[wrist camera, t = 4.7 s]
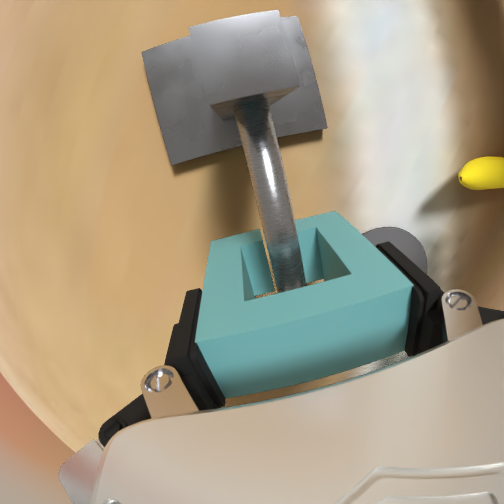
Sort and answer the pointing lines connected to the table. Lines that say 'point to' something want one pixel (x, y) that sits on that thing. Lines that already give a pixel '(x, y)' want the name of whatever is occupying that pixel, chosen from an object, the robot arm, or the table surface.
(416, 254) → the coaster
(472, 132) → the table surface
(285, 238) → the stand
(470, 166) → the banana
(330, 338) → the link
